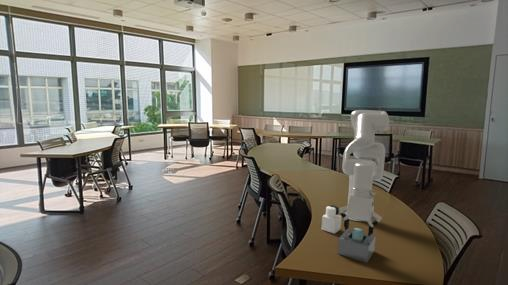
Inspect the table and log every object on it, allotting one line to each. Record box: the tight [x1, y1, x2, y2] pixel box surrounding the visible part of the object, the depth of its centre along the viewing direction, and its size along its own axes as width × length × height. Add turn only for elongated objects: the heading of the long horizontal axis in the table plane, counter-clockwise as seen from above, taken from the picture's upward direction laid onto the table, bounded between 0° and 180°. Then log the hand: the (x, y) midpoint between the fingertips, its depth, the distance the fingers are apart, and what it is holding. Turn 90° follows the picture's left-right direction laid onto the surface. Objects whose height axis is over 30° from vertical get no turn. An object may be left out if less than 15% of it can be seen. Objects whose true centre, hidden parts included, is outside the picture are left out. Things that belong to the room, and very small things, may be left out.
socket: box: [337, 228, 377, 264], centre depth 130 cm, size 12×12×7 cm
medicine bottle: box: [320, 204, 342, 234], centre depth 153 cm, size 7×7×12 cm
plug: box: [352, 227, 365, 242], centre depth 130 cm, size 4×4×10 cm
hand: (358, 231), depth 130 cm, fingers open, 9 cm apart
